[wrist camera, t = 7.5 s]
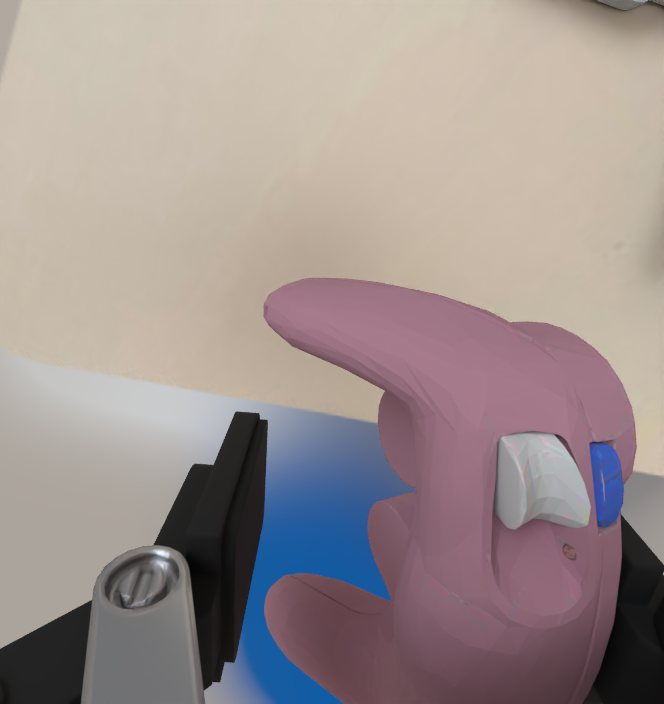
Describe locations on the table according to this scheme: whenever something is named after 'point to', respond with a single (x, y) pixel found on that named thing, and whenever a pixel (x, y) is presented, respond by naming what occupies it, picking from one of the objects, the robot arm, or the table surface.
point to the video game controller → (466, 504)
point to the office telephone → (628, 3)
